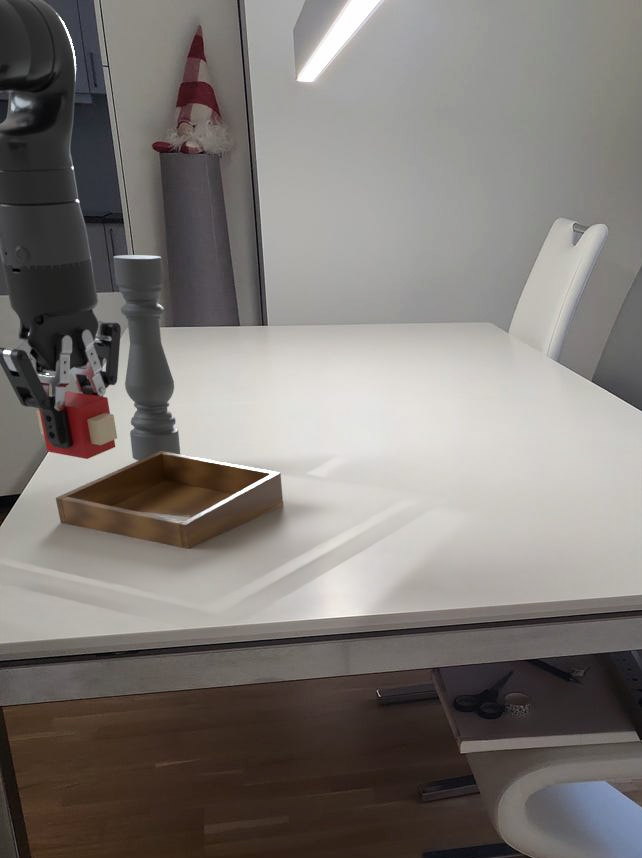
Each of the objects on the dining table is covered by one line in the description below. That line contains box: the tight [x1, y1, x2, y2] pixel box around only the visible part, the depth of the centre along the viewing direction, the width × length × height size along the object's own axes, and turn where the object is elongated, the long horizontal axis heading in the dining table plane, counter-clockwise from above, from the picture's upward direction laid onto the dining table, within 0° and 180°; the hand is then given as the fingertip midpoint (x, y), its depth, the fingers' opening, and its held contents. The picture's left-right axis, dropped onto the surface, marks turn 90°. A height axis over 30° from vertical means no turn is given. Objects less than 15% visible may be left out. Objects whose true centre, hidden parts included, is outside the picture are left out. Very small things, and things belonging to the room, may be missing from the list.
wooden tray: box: [55, 451, 284, 550], centre depth 119 cm, size 18×18×4 cm
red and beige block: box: [36, 390, 118, 460], centre depth 101 cm, size 7×4×5 cm, turn 66°
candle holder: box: [112, 254, 181, 461], centre depth 134 cm, size 6×6×25 cm
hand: (79, 439), depth 102 cm, fingers closed on red and beige block, 4 cm apart
